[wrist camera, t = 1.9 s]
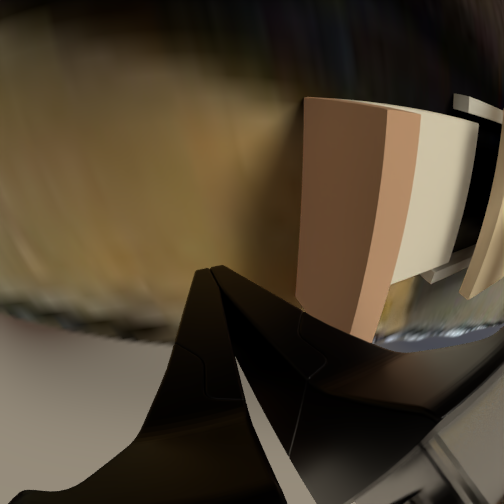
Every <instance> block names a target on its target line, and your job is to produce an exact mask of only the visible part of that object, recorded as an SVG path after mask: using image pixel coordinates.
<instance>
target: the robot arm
mask: <svg viewBox="0 0 504 504" xmlns="http://www.w3.org/2000/svg"><path fill="white" fill-rule="evenodd" d="M235 357H236V358H235ZM236 359H237V360H238V363H239V365H240V367H241V369H242V371H243V372H244V375H245V377H246V379H247V381H248V383H249V384H250V386H251V388H252V390H253V392H254V394H255V396H256V398H257V400H258V402H259V404H260V406H261V407H262V409H263V411H264V413H265V415H266V417H267V419H268V420H269V422H270V424H271V426H272V428H273V430H274V431H275V433H276V435H277V437H278V439H279V440H280V442H281V444H282V446H283V448H284V449H285V451H286V453H287V455H288V456H289V457H290V460H291V462H292V463H293V465H294V467H295V469H296V470H297V472H298V474H299V475H300V477H301V479H302V480H303V482H304V483H305V485H306V487H307V488H308V490H309V492H310V494H311V495H312V497H313V498H314V500H315V502H316V503H317V504H351V503H353V502H356V504H504V326H503V327H502V328H501V329H500V330H499V331H498V332H497V333H495V334H494V335H492V336H490V337H488V338H485V339H482V340H479V341H475V342H471V343H466V344H461V345H457V346H450V347H445V348H439V349H433V350H426V351H419V352H413V353H401V352H394V351H391V350H388V349H385V348H382V347H379V346H377V345H375V344H372V343H370V342H367V341H365V340H363V339H360V338H358V337H355V336H353V335H351V334H348V333H346V332H344V331H341V330H339V329H337V328H335V327H333V326H330V325H328V324H326V323H324V322H323V321H321V320H319V319H317V318H315V317H313V316H311V315H309V314H308V313H306V312H303V311H302V310H300V309H299V308H297V307H295V306H293V305H292V304H290V303H288V302H286V301H285V300H283V299H281V298H279V297H278V296H276V295H274V294H272V293H271V292H269V291H267V290H265V289H264V288H262V287H260V286H258V285H257V284H255V283H253V282H251V281H250V280H248V279H246V278H245V277H243V276H241V275H239V274H238V273H236V272H234V271H233V270H231V269H229V268H227V267H226V266H224V265H220V266H215V267H211V268H210V269H209V268H205V269H200V270H196V271H195V274H194V277H193V281H192V284H191V287H190V291H189V294H188V297H187V301H186V304H185V308H184V311H183V314H182V318H181V321H180V325H179V329H178V332H177V336H176V339H175V344H174V346H173V350H172V354H171V357H170V360H169V363H168V366H167V370H166V372H165V375H164V377H163V380H162V382H161V385H160V387H159V389H158V391H157V394H156V396H155V398H154V401H153V403H152V405H151V407H150V410H149V412H148V414H147V417H146V419H145V421H144V424H143V426H142V428H141V430H140V432H139V434H138V435H137V437H136V438H135V439H134V441H133V442H132V443H131V444H130V445H129V446H128V447H127V448H125V449H124V450H123V451H122V452H120V453H119V454H118V455H117V456H116V457H114V458H113V459H112V460H110V461H109V462H108V463H106V464H105V465H104V466H103V467H101V468H100V469H99V470H97V471H96V472H95V473H94V474H92V475H91V476H90V477H88V478H87V479H86V480H84V481H83V482H81V483H80V484H78V485H76V486H74V487H72V488H69V489H66V490H62V491H52V492H49V491H38V490H24V491H21V492H19V493H18V494H17V495H16V496H15V497H14V498H13V499H12V500H11V501H10V502H9V503H8V504H287V501H286V499H285V496H284V494H283V492H282V489H281V487H280V486H279V483H278V481H277V479H276V477H275V474H274V472H273V470H272V468H271V466H270V463H269V461H268V459H267V457H266V455H265V452H264V450H263V448H262V445H261V443H260V441H259V438H258V436H257V434H256V432H255V429H254V427H253V424H252V421H251V419H250V415H249V411H248V408H247V404H246V400H245V396H244V393H243V388H242V384H241V380H240V375H239V371H238V367H237V363H236Z"/></svg>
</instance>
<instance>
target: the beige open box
mask: <svg viewBox="0 0 504 504" xmlns="http://www.w3.org/2000/svg"><path fill="white" fill-rule="evenodd" d="M453 109H456V110H460V111H463V112H467V113H470V114H473V115H477V116H480V117H483V118H486V119H489V120H492V121H495V122H498V123H500V124H502V131H501V139H500V146H499V153H498V159H497V165H496V170H495V175H494V180H493V185H492V190H491V194H490V198H489V202H488V206H487V210H486V214H485V217H484V221H483V225H482V228H481V231H480V235H479V238H478V241H477V244H475V245H472V246H470V247H467V248H465V249H462V250H460V251H457V252H454V253H452V254H451V257H450V260H449V262H448V263H446V264H443V265H441V266H438V267H436V268H433V269H431V270H428V271H426V272H423V273H420V276H421V277H423V278H424V279H425V280H426V281H427V282H429V283H430V284H432V283H434V282H437V281H439V280H441V279H443V278H446V277H448V276H450V275H452V274H454V273H457V272H459V271H461V270H463V269H465V268H467V267H468V270H467V272H466V275H465V278H464V280H463V283H462V285H461V288H460V290H459V293H460V294H461V295H462V296H463V297H465V298H466V299H467V300H469V299H470V298H472V297H474V296H475V295H477V294H478V293H480V292H482V291H483V290H485V289H486V288H488V287H489V286H491V285H492V284H494V283H495V282H497V281H498V280H500V279H501V278H502V277H504V110H503V111H502V110H500V109H498V108H496V107H493V106H491V105H489V104H486V103H484V102H482V101H479V100H477V99H474V98H472V97H469V96H464V95H460V94H455V93H454V100H453Z"/></svg>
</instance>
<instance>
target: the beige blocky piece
mask: <svg viewBox="0 0 504 504" xmlns="http://www.w3.org/2000/svg"><path fill="white" fill-rule="evenodd" d="M478 128H479V124H478V123H475V122H472V121H469V120H465V119H462V118H458V117H453V116H449V115H445V114H440V113H435V112H431V111H425V110H420V109H415V108H409V107H403V106H396V105H390V104H382V103H374V102H366V101H356V100H345V99H331V98H313V97H304V130H303V169H302V195H301V216H300V235H299V251H298V266H297V279H296V292H295V297H296V299H297V300H298V301H299V303H300V304H301V306H302V307H303V308H304V310H305V311H306V312H307V313H308V314H309V315H311V316H313V317H315V318H317V319H319V320H321V321H323V322H324V323H326V324H328V325H330V326H333V327H335V328H337V329H339V330H341V331H344V332H346V333H348V334H351V335H353V336H355V337H358V338H360V339H363V340H365V341H367V342H370V343H372V340H373V337H374V334H375V332H376V329H377V326H378V323H379V320H380V317H381V314H382V311H383V307H384V304H385V301H386V298H387V294H388V291H389V288H390V285H391V284H393V283H396V282H399V281H402V280H404V279H407V278H410V277H412V276H415V275H418V274H420V273H423V272H426V271H428V270H431V269H433V268H436V267H438V266H441V265H443V264H446V263H448V262H449V260H450V257H451V254H452V251H453V247H454V244H455V241H456V237H457V234H458V230H459V227H460V223H461V219H462V216H463V212H464V208H465V203H466V199H467V195H468V190H469V185H470V180H471V175H472V170H473V164H474V158H475V151H476V144H477V137H478Z"/></svg>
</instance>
